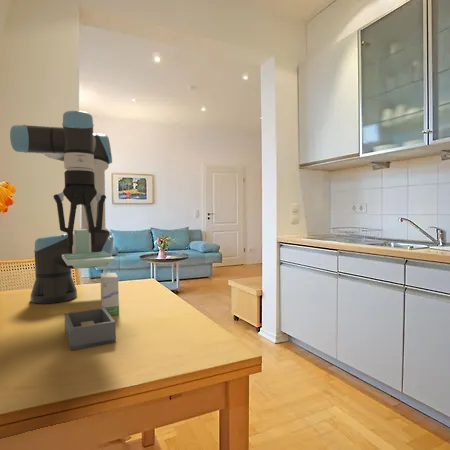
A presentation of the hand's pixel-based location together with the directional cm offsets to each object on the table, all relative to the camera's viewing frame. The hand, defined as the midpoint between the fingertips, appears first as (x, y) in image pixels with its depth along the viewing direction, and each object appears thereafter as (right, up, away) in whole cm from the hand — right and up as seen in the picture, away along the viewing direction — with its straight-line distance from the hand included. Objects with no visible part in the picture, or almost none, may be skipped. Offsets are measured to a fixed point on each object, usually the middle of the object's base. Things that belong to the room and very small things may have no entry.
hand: (82, 256), depth 95 cm
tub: (+5, -19, -8) cm, 22 cm away
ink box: (+3, -19, +14) cm, 24 cm away
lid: (+4, -1, -6) cm, 7 cm away
